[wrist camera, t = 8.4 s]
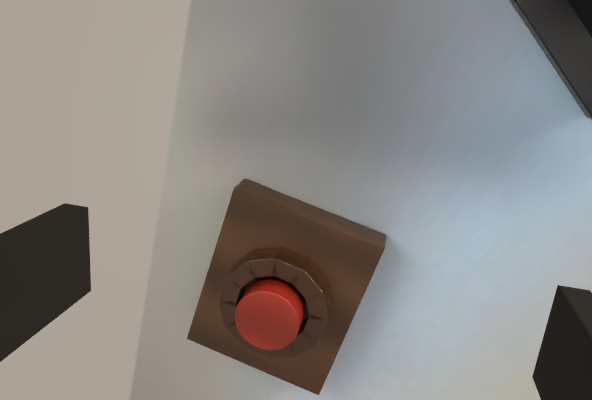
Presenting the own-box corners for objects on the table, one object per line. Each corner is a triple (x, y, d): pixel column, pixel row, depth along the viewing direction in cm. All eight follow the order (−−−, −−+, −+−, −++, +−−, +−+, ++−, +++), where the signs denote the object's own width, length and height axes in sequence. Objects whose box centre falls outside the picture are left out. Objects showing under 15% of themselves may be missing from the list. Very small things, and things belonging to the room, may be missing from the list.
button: (253, 268, 32) (245, 281, 31) (313, 293, 32) (308, 307, 30) (235, 320, 34) (226, 334, 32) (292, 344, 33) (286, 360, 32)
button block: (244, 178, 34) (224, 195, 31) (386, 234, 34) (383, 259, 30) (198, 322, 39) (176, 353, 35) (323, 375, 38) (314, 413, 34)
